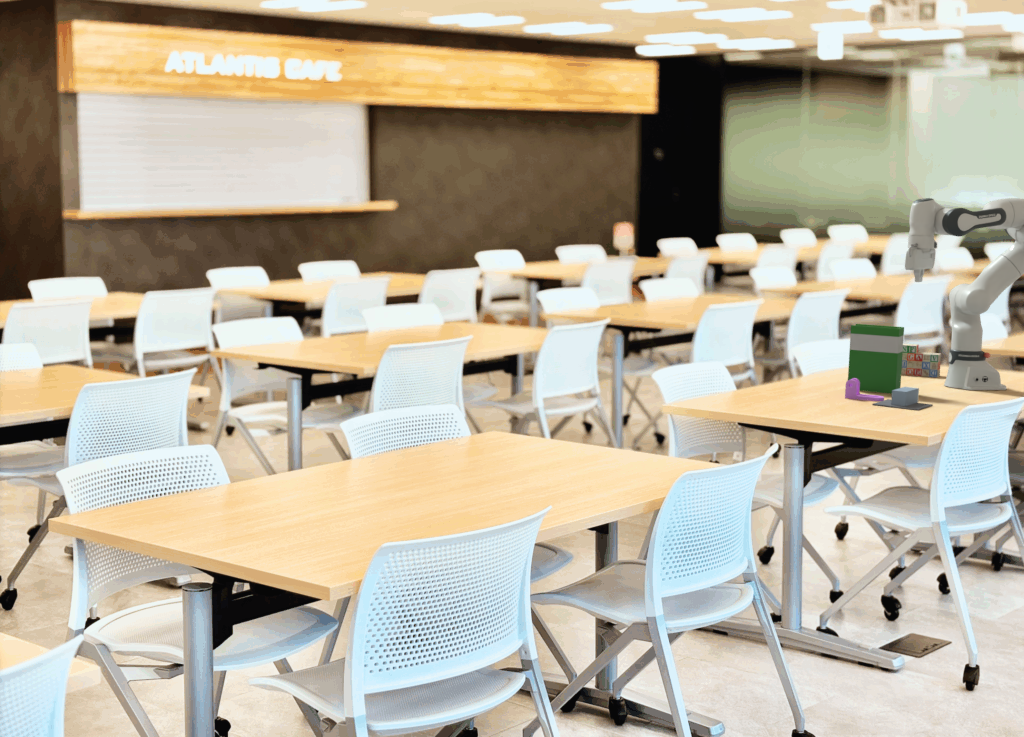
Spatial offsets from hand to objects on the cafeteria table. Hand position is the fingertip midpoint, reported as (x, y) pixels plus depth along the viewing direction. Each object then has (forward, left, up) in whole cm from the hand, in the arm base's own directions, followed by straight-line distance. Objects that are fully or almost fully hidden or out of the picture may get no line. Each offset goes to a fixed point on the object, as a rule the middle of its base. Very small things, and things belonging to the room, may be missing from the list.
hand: (918, 282), depth 479 cm
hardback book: (+12, -6, -41) cm, 43 cm away
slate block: (+6, +21, -38) cm, 44 cm away
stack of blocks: (-15, -54, -41) cm, 70 cm away
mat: (+10, +27, -41) cm, 50 cm away
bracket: (+20, +15, -41) cm, 48 cm away
